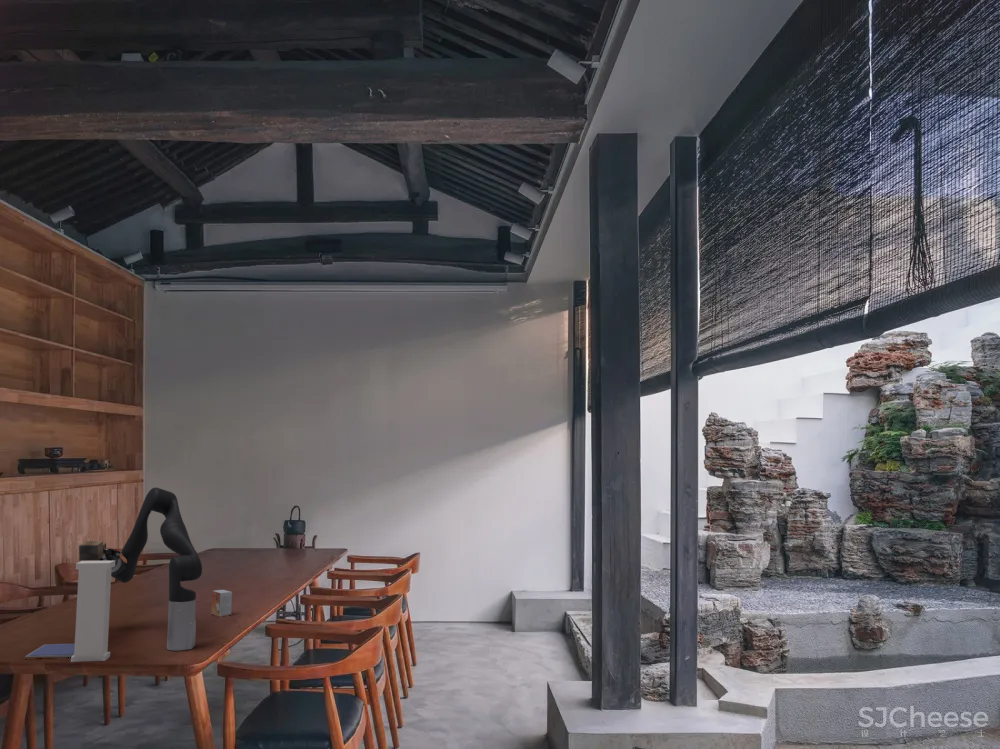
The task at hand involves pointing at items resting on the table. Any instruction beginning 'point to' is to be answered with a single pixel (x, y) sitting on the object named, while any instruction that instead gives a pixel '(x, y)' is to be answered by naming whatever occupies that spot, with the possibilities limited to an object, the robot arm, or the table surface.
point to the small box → (221, 602)
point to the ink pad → (53, 651)
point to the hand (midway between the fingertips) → (94, 549)
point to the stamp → (91, 550)
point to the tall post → (92, 611)
